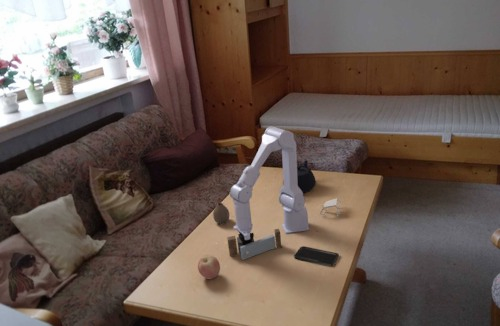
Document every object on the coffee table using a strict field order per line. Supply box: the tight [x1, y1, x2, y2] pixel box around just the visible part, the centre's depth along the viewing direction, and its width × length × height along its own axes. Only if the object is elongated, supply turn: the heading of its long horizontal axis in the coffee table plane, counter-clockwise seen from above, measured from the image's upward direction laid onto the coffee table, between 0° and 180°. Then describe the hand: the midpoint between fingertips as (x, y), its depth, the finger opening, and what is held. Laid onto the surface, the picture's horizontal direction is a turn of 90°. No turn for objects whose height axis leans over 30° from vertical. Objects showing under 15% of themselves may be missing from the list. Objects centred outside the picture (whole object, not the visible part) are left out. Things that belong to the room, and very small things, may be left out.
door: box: [240, 234, 276, 260], centre depth 172 cm, size 14×2×5 cm, turn 117°
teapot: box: [282, 159, 316, 194], centre depth 220 cm, size 25×16×12 cm, turn 157°
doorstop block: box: [236, 236, 255, 255], centre depth 175 cm, size 6×4×5 cm, turn 99°
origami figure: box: [319, 198, 342, 218], centre depth 196 cm, size 12×8×5 cm
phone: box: [293, 245, 340, 268], centre depth 167 cm, size 8×1×15 cm
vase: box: [212, 202, 230, 225], centre depth 196 cm, size 7×7×9 cm
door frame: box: [226, 228, 282, 257], centre depth 174 cm, size 20×2×7 cm, turn 99°
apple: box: [197, 254, 221, 280], centre depth 161 cm, size 8×8×8 cm
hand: (246, 246), depth 175 cm, fingers closed on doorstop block, 4 cm apart
